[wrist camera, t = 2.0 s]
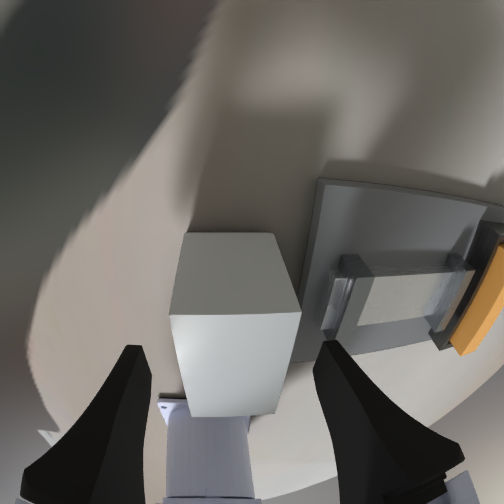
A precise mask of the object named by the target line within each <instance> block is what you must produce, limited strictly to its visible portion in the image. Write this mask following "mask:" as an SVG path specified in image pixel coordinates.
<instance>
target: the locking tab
mask: <svg viewBox="0 0 504 504" xmlns="http://www.w3.org/2000/svg"><path fill="white" fill-rule="evenodd" d="M503 306H504V244H501V243H500V244H499V247H498V249H497V251H496V254H495V256H494V259H493V261H492V263H491V265H490V268H489V270H488V272H487V274H486V276H485V278H484V280H483V282H482V284H481V286H480V288H479V290H478V292H477V294H476V296H475V298H474V300H473V302H472V304H471V305H470V307H469V309H468V311H467V313H466V314H465V316H464V318H463V319H462V321H461V323H460V324H459V326H458V328H457V329H456V331H455V333H454V334H453V336H452V337H451V339H450V342H451V343H452V345H453V346H454V348H455V349H456V351H457V352H458V354H459V355H460V356H463V355H465V354H468V353H471V352H473V351H475V350H476V348H477V347H478V346H479V344H480V343H481V341H482V340H483V338H484V337H485V335H486V334H487V332H488V331H489V329H490V328H491V326H492V325H493V323H494V322H495V320H496V318H497V317H498V315H499V313H500V312H501V310H502V308H503Z"/></svg>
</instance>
